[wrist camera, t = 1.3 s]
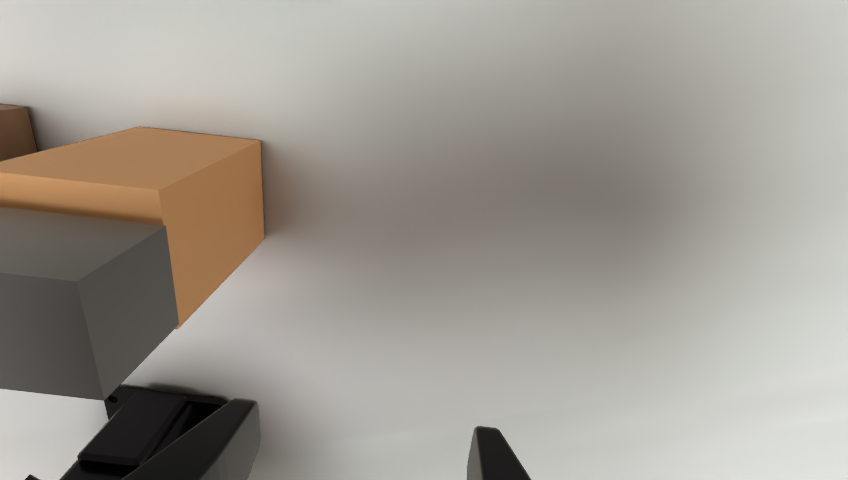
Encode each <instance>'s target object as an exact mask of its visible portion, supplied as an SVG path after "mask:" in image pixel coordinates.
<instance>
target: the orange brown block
mask: <svg viewBox="0 0 848 480" xmlns="http://www.w3.org/2000/svg"><path fill="white" fill-rule="evenodd" d="M0 207H6V208H15V209H24V210H32V211H41V212H50V213H59V214H68V215H76V216H85V217H94V218H103V219H111V220H120V221H129V222H138V223H146V224H155V225H164V226H166V230H167V237H168V244H169V252H170V259H171V267H172V274H173V281H174V289H175V296H176V304H177V311H178V318H179V325H178V326H177V327H176V328H175V329H178V328H179V327H180V326H181V325H182V324H183V323H184V322H185V321H186V320H187V319H188V318H189V317H190V316H191V315H192V314H193V313H194V312H195V311H196V310H197V309H198V308H199V307H200V306H201V305H202V304H203V302H204V301H205V300H206V299H207V298H208V297H209V296H210V295H211V294H212V293H213V292H214V291H215V290H216V289H217V288H218V287H219V286H220V285H221V284H222V283H223V282H224V281H225V280H226V279H227V278H228V277H229V275H230V274H231V273H232V272H233V271H234V270H235V269H236V268H237V267H238V266H239V265H240V264H241V263H242V262H243V261H244V260H245V259H246V258H247V257H248V256H249V255H250V254H251V253H252V252H253V251H254V249H255V248H256V247H257V246H258V245H259V244H260V243H261V242H262V241H263V240H264V239H265V238H264V214H263V190H262V167H261V143H260V140H252V139H243V138H234V137H225V136H216V135H208V134H199V133H190V132H181V131H172V130H164V129H155V128H146V127H136V128H132V129H128V130H124V131H120V132H116V133H112V134H108V135H104V136H100V137H96V138H92V139H88V140H84V141H80V142H76V143H72V144H68V145H64V146H60V147H56V148H52V149H48V150H44V151H40V152H36V153H32V154H28V155H24V156H21V157H17V158H13V159H9V160H5V161H1V162H0Z"/></svg>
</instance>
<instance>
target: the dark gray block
mask: <svg viewBox="0 0 848 480" xmlns="http://www.w3.org/2000/svg"><path fill="white" fill-rule="evenodd" d="M178 325H179V318H178V311H177V304H176V296H175V289H174V281H173V274H172V267H171V259H170V252H169V244H168V237H167V230H166V226H164V225H155V224H146V223H138V222H129V221H120V220H111V219H103V218H94V217H85V216H76V215H68V214H59V213H50V212H41V211H32V210H24V209H15V208H6V207H0V389H9V390H17V391H26V392H35V393H43V394H52V395H61V396H70V397H78V398H87V399H96V400H105V399H106V398H107V397H108V396H109V395H110V394H111V393H112V392H113V391H114V390H115V389H116V388H117V387H118V386H119V385H120V384H121V383H122V382H123V381H124V380H125V379H126V378H127V377H128V376H129V375H130V374H131V373H132V372H133V371H134V370H135V369H136V368H137V367H138V366H139V365H140V364H141V363H142V362H143V361H144V359H145V358H146V357H147V356H148V355H149V354H150V353H151V352H152V351H153V350H154V349H155V348H156V347H157V346H158V345H159V344H160V343H161V342H162V341H163V340H164V339H165V338H166V337H167V336H168V335H169V334H170V333H171V332H172V331H173V330H174V329H175V328H176V327H177V326H178Z"/></svg>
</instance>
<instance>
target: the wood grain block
mask: <svg viewBox="0 0 848 480" xmlns="http://www.w3.org/2000/svg"><path fill="white" fill-rule="evenodd" d="M36 152H37V149H36V144H35V140H34V136H33V132H32V128H31V124H30V119H29V115H28V111H27V107H23V106H14V105H5V104H0V162H1V161H5V160H9V159H13V158H17V157H21V156H24V155H28V154H32V153H36Z"/></svg>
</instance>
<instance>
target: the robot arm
mask: <svg viewBox="0 0 848 480" xmlns="http://www.w3.org/2000/svg"><path fill="white" fill-rule="evenodd" d="M104 402H105V407H106V411H107V415H108V420H109V421H108V422H107V423H106V424H105V425H104V426H103V428H102V429H101V430H100V431H99V432H98V433H97V434H96V435H95V436H94V437H93V439H92V440H91V441H90V442H89V443H88V444H87V445H86V446H85V447H84V448H83V450H82V451H81V452H80V453H79V454H78V456H77V457H78V460H77V461H76V462H75V463H74V464H73V465H72V466H71V467H70V469H69V470H68V471H67V472H66V473H65V474H64V475H63V476H62V477H61V479H60V480H247V479H248V476H249V473H250V470H251V467H252V465H253V462H254V459H255V456H256V453H257V450H258V447H259V442H260V418H259V405H258V403H257V402H256V401H254V400H248V399H239V398H236V399H233V400H231V401H229V402H228V403H227V402H226V401H225V400H223V399H220V398H212V397H203V396H194V395H186V394H177V393H168V392H160V391H151V390H142V389H134V388H125V387H117V388H116V389H115V390H114V391H113V392H112V393H111V394H110V395H109V396H108V397H107V398H106V399H105V400H104ZM218 408H219V409H218ZM25 480H40V479H38V478H36V477H34V476H33V475H31V474H30V475H29V476H28V477H27V478H26V479H25ZM467 480H531V479H530V477H529V475H528V474H527V472H526V471H525V469H524V468H523V466H522V465H521V463H520V461H519V460H518V458H517V457H516V455H515V454H514V452H513V451H512V449H511V447H510V446H509V444H508V443H507V441H506V440H505V438H504V437H503V435H502V433H501V432H500V431H499V430H498V429H497V428H491V427H483V426H477V427H476V428H475V429H474V432H473V437H472V442H471V447H470V452H469V457H468V465H467Z"/></svg>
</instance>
